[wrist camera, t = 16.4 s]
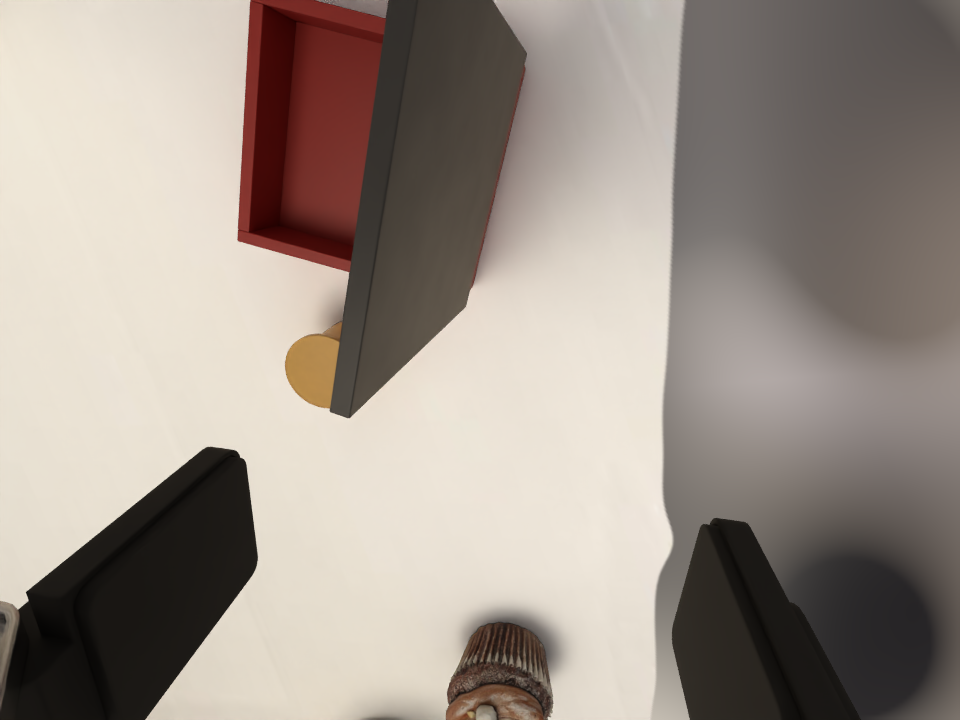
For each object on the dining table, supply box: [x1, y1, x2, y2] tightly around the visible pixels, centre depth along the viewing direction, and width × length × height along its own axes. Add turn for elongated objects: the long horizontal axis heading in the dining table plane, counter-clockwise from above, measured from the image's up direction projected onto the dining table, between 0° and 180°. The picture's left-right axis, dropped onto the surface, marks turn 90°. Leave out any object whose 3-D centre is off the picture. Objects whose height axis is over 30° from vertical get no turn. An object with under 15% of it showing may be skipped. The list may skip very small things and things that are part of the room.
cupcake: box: [446, 622, 553, 720], centre depth 46 cm, size 10×10×10 cm
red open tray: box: [238, 0, 525, 289], centre depth 33 cm, size 16×15×5 cm
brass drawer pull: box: [285, 322, 342, 408], centre depth 39 cm, size 6×6×5 cm
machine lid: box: [330, 0, 527, 418], centre depth 23 cm, size 16×15×1 cm
